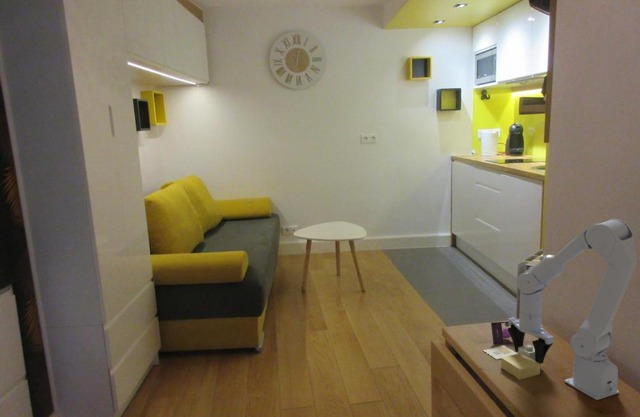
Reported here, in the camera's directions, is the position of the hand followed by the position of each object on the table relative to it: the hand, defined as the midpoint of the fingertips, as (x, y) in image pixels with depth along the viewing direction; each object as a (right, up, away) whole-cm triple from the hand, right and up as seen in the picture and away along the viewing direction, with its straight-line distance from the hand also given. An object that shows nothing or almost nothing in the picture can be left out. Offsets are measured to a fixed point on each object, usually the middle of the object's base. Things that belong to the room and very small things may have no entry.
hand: (528, 356), depth 130 cm
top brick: (0, -2, 0) cm, 2 cm away
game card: (-1, 0, +14) cm, 14 cm away
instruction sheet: (-6, -1, +6) cm, 8 cm away
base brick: (-4, -2, -5) cm, 7 cm away
